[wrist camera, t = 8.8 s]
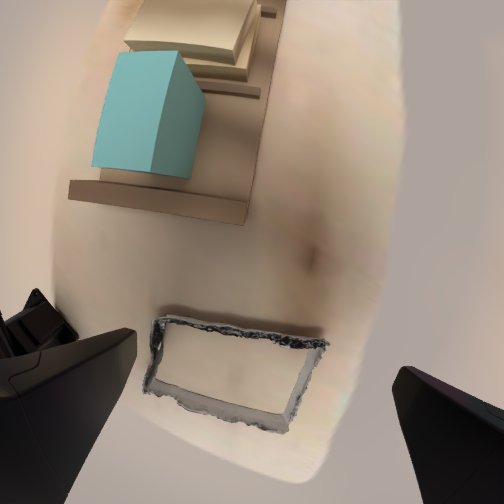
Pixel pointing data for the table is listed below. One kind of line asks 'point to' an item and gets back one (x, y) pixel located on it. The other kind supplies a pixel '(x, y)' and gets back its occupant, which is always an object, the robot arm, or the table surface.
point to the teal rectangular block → (150, 116)
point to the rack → (207, 146)
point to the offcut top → (193, 28)
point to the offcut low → (224, 70)
